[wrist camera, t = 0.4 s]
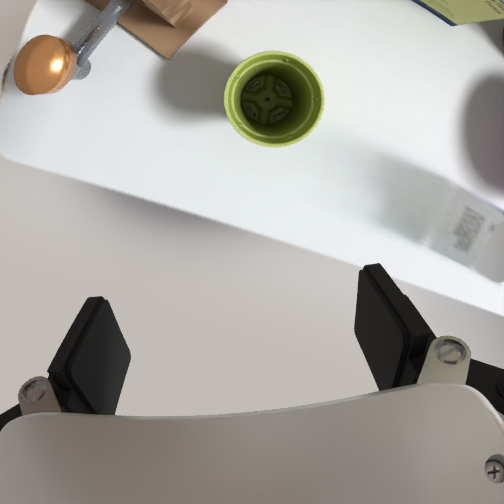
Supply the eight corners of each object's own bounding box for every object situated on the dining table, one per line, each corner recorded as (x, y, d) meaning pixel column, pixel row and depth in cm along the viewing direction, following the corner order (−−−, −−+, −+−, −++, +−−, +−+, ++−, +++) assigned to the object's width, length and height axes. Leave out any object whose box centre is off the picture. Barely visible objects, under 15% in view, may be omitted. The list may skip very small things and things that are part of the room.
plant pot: (209, 94, 34) (202, 92, 27) (272, 47, 32) (283, 33, 24) (259, 152, 38) (266, 166, 30) (320, 106, 36) (343, 109, 28)
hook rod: (153, -42, 24) (131, -77, 15) (189, -20, 26) (175, -54, 17) (52, 76, 29) (5, 76, 20) (82, 101, 31) (38, 106, 23)
